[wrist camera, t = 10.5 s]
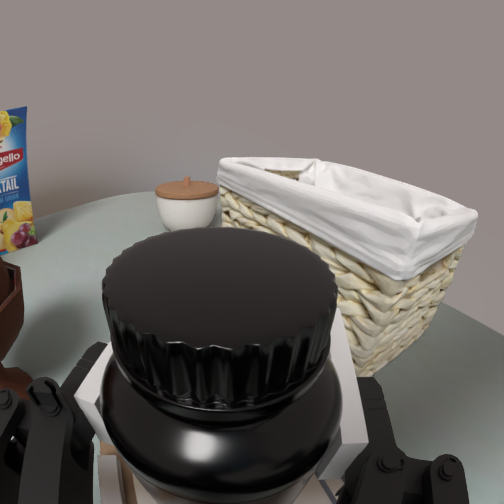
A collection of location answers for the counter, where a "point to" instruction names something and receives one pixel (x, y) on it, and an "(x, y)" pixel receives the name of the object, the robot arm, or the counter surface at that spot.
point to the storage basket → (357, 241)
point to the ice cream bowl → (11, 326)
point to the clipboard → (139, 500)
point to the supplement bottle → (220, 365)
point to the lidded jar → (186, 203)
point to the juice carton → (14, 184)
